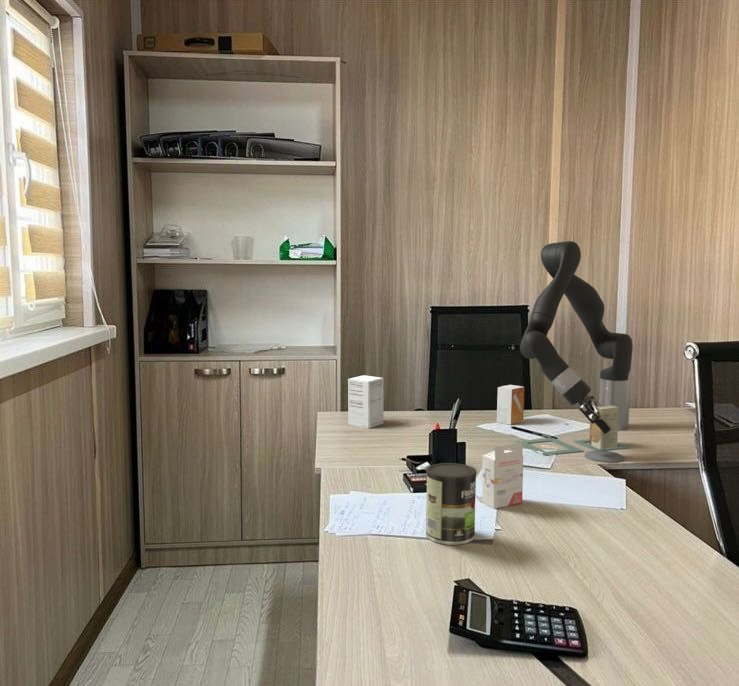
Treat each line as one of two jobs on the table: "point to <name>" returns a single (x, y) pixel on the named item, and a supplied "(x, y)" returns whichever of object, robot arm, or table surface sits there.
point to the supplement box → (365, 401)
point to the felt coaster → (604, 456)
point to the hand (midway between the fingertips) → (610, 428)
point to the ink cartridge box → (503, 476)
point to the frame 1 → (571, 448)
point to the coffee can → (450, 503)
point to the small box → (510, 404)
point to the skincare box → (611, 419)
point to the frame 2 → (584, 443)
